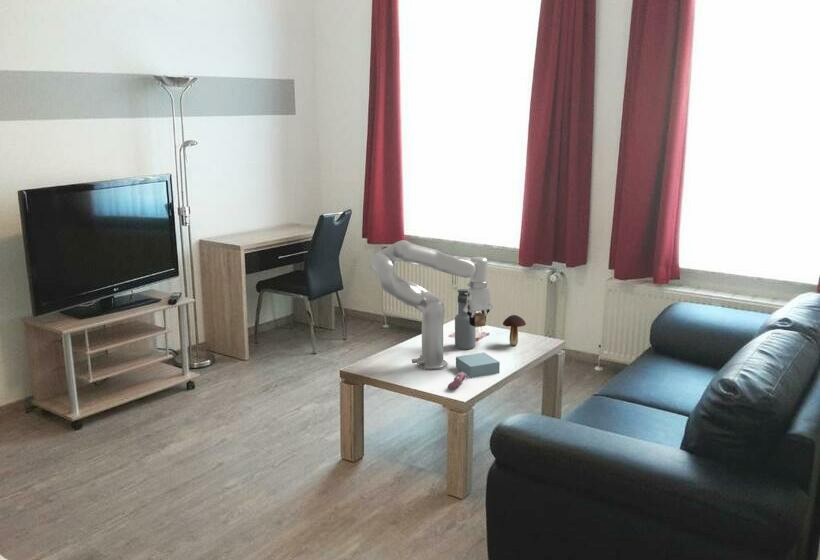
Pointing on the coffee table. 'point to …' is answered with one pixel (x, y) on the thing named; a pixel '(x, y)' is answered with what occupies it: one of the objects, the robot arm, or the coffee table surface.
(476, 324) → the walnut cube
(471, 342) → the water bottle
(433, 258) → the robot arm
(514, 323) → the decorative mushroom
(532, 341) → the coffee table surface
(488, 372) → the block
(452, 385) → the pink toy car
